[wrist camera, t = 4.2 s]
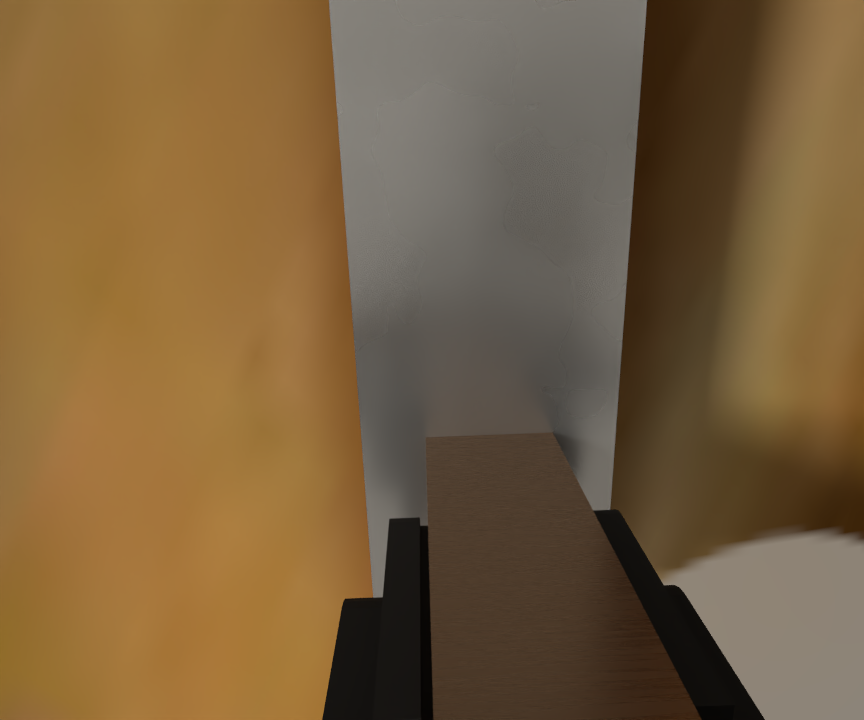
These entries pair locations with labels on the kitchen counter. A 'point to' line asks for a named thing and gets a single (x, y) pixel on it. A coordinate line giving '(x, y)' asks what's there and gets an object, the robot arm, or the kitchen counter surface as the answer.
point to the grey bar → (499, 337)
